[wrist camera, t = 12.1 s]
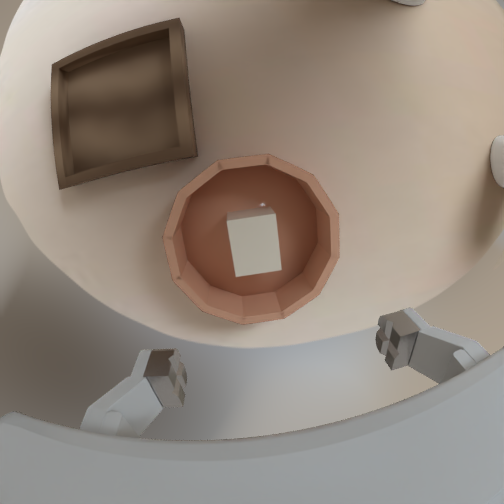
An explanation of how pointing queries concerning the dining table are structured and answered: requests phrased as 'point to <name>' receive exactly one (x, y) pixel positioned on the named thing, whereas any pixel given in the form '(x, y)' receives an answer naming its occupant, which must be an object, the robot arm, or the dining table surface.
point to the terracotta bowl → (219, 249)
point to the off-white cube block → (254, 241)
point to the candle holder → (498, 160)
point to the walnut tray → (122, 104)
